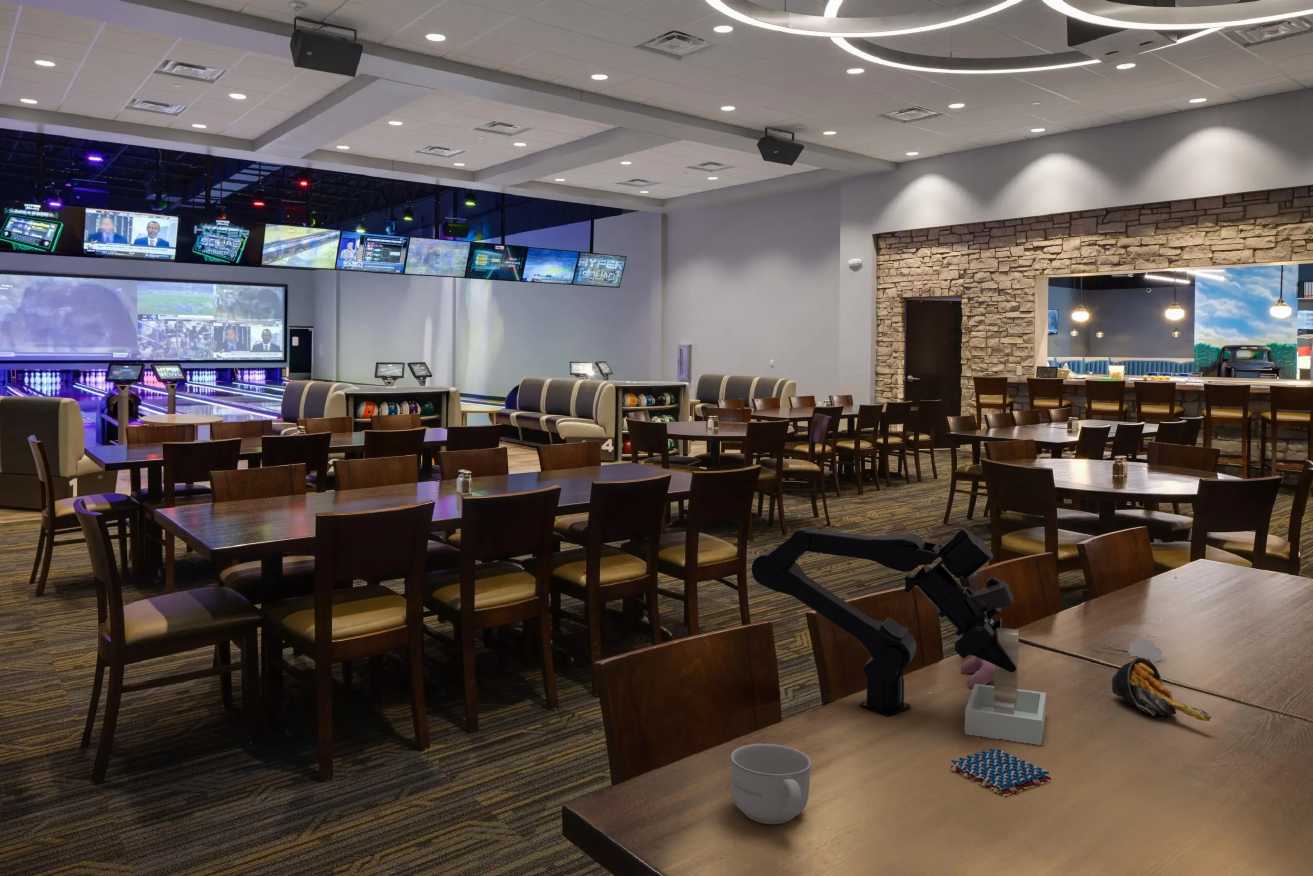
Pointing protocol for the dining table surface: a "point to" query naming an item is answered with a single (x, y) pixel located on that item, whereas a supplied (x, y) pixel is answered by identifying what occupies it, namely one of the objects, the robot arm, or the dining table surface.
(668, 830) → the dining table surface
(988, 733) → the box
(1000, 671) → the plate
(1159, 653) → the car cutout
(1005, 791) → the woven mat
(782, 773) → the teacup
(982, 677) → the video game controller
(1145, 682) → the fried shrimp in bowl
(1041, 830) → the dining table surface
